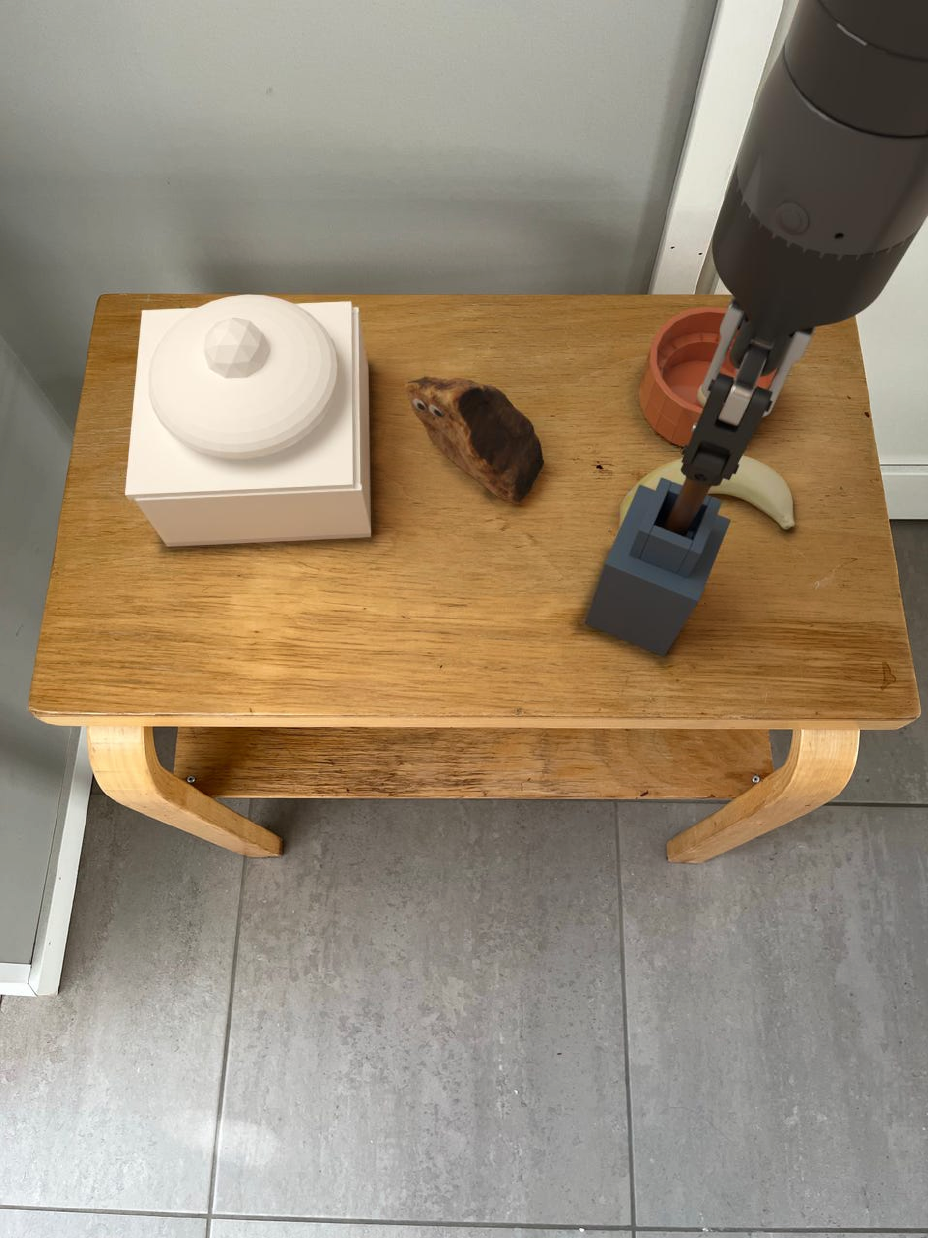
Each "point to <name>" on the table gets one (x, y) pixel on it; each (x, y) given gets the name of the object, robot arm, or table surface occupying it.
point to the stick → (686, 507)
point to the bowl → (683, 371)
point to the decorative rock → (479, 433)
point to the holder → (656, 570)
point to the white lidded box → (251, 422)
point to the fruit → (732, 488)
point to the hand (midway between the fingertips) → (726, 413)
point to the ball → (701, 397)
